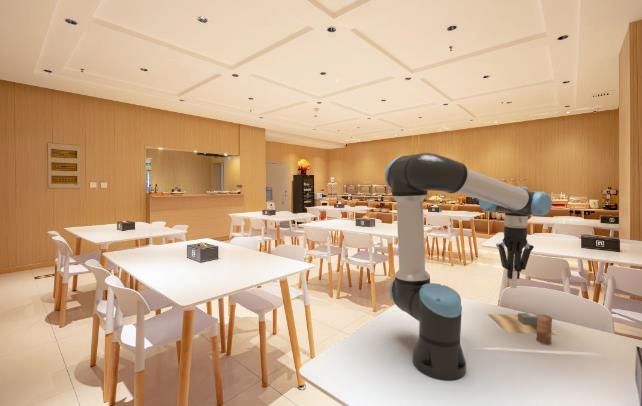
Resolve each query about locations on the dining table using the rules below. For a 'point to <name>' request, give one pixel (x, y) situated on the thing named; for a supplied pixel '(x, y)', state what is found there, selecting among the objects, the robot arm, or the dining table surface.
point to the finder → (527, 318)
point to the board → (515, 324)
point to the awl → (544, 329)
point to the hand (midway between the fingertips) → (512, 286)
